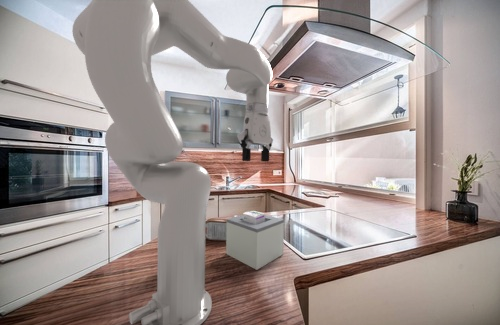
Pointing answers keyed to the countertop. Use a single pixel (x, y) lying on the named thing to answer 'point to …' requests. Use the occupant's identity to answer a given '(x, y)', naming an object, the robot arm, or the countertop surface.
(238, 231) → the post box
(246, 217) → the syrup box
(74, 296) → the countertop surface
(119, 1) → the robot arm
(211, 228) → the tin
